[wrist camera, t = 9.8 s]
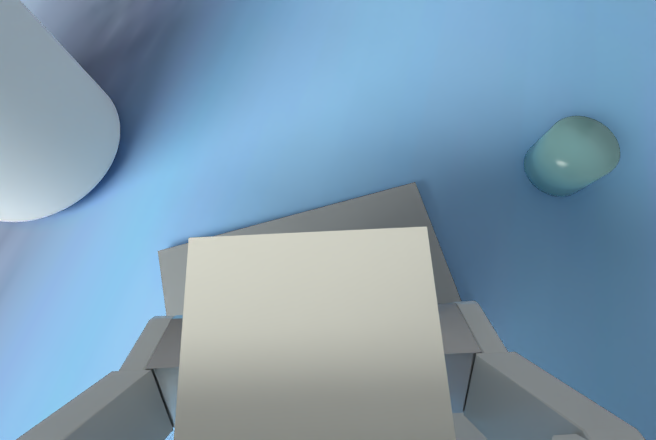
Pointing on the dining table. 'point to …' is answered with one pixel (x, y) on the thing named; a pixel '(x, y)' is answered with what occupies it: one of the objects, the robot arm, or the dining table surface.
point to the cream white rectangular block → (312, 338)
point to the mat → (353, 214)
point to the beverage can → (48, 121)
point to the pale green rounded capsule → (571, 156)
